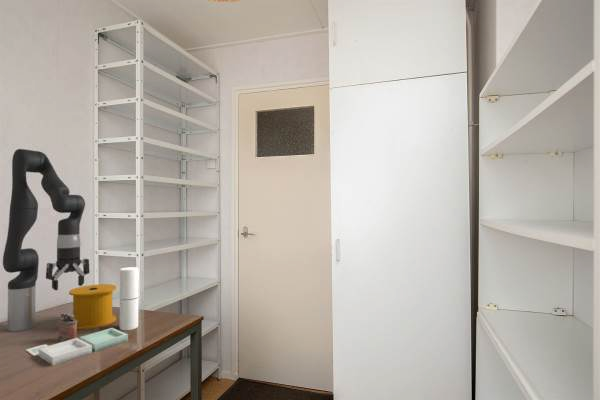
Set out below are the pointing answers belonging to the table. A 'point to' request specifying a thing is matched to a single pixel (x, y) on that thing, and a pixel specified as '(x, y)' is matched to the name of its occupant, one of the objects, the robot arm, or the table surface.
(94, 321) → the spool
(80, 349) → the white tray
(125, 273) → the cylindrical container
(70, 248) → the robot arm
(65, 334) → the lighter
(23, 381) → the table surface
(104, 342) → the green tray
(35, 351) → the card
